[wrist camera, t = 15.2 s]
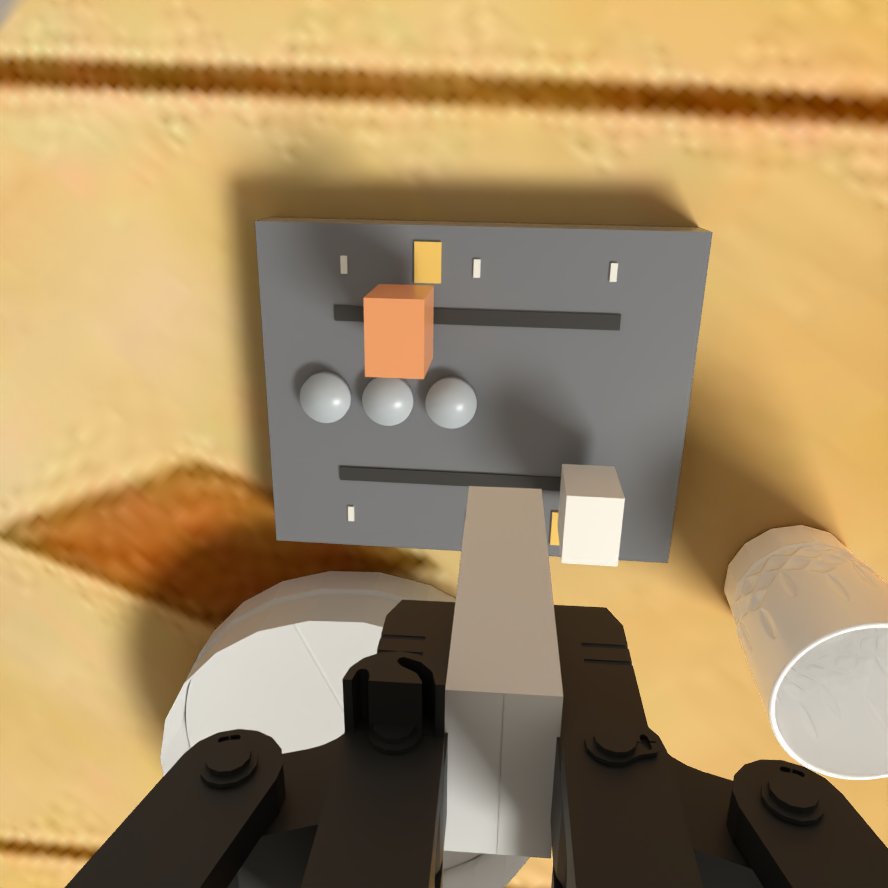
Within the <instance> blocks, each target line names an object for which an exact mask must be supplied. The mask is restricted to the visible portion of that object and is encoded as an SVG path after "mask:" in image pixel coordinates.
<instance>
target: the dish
mask: <svg viewBox="0 0 888 888" xmlns="http://www.w3.org/2000/svg"><path fill="white" fill-rule="evenodd" d="M401 600H422V601H442V602H456V599H455V598H454V597H452V596H450V595H448V594H446V593H444V592H442V591H440V590H438V589H436V588H435V587H433V586H431V585H428V584H424V583H420V582H417V581H413V580H409V579H405V578H401V577H397V576H393V575H389V574H385V573H381V572H353V571H327V572H322V573H318V574H313V575H309V576H304V577H299V578H295V579H290V580H286V581H282V582H280V583H278V584H276V585H274V586H273V587H271V588H269V589H267V590H265V591H263V592H261V593H259V594H257V595H256V596H254V597H252V598H250V599H248V600H246V601H244V602H243V603H242V604H241V605H240V606H239V607H238V608H237V609H236V610H235V611H234V612H233V613H232V614H231V615H230V616H229V617H228V618H227V619H225V620H224V621H223V622H222V623H221V624H220V625H219V626H218V627H217V628H216V629H215V630H214V632H213V633H212V635H211V636H210V638H209V639H208V641H207V642H206V644H205V645H204V647H203V649H202V650H201V651H200V653H199V655H198V657H197V659H196V661H195V663H194V665H193V667H192V669H191V671H190V672H189V674H188V676H187V678H186V680H185V682H184V684H183V686H182V688H181V690H180V692H179V694H178V696H177V698H176V700H175V702H174V704H173V706H172V708H171V710H170V712H169V714H168V716H167V717H166V719H165V726H164V734H163V742H162V749H161V757H160V760H161V765H162V770H163V776H165V774H166V773H167V772H168V771H169V770H170V769H171V768H172V767H173V765H174V764H175V763H176V762H177V761H178V760H179V759H180V758H181V756H182V755H183V754H184V753H185V752H187V751H188V750H189V749H190V748H191V747H193V746H194V745H195V744H196V743H197V742H199V741H200V740H203V739H205V738H207V737H209V736H212V735H214V734H216V733H218V732H224V731H229V730H235V729H245V730H256V731H259V732H261V733H264V734H266V735H268V736H270V737H272V738H273V739H274V740H275V741H276V743H277V744H278V745H279V746H280V748H281V749H282V754H283V753H289V752H294V751H300V750H305V749H310V748H314V747H317V746H321V745H324V744H326V743H328V742H330V741H333V740H335V739H337V738H338V737H340V736H341V735H342V734H344V732H345V727H344V704H343V682H342V679H343V677H344V676H345V674H346V673H347V671H348V670H349V668H350V667H351V666H353V665H354V664H355V663H357V662H358V661H360V660H361V659H363V658H365V657H368V656H371V655H374V654H377V648H378V644H379V640H380V638H381V633H382V629H383V625H384V622H385V618H386V615H387V614H388V613H389V612H390V611H391V610H392V609H393V608H394V607H395V606H396V605H397V604H398V603H399V602H400V601H401ZM529 858H530V857H526V856H512V855H499V854H485V853H471V852H457V851H444V852H443V887H442V888H503V887H505V886H506V885H507V884H508V883H509V882H510V881H511V879H512V878H513V877H514V876H515V875H516V873H517V872H518V871H519V870H520V869H521V867H522V866H523V865H524V864H525V863H526V861H527V860H528V859H529Z"/></svg>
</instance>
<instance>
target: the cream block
mask: <svg viewBox="0 0 888 888" xmlns="http://www.w3.org/2000/svg"><path fill="white" fill-rule="evenodd" d="M624 502H625V498H624V494H623V491H622V488H621V485H620V482H619V479H618V476H617V472H616V469H615V466H596V465H575V464H562V471H561V484H560V497H559V511H558V524H557V528H558V537H559V546H560V555H561V563H569V564H586V565H603V566H618V557H619V548H620V539H621V530H622V520H623V511H624Z"/></svg>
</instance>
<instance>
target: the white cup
mask: <svg viewBox="0 0 888 888" xmlns="http://www.w3.org/2000/svg"><path fill="white" fill-rule="evenodd" d="M724 593H725V595H726V598H727V601H728V603H729V606H730V609H731V611H732V614H733V617H734V621H735V626H736V627H735V629H736V633H737V635H738V638H739V641H740V644H741V648H742V650H743V653H744V655H745V659H746V662H747V665H748V668H749V671H750V673H751V676H752V678H753V680H754V683H755V685H756V688H757V691H758V693H759V696H760V699H761V702H762V704H763V707H764V710H765V712H766V715H767V717H768V720H769V723H770V725H771V728H772V731H773V733H774V735H775V737H776V739H777V741H778V742H779V744H780V745H781V747H782V748H783V749H784V750H785V751H786V752H787V753H788V754H789V755H790V756H791V757H792V758H793V759H794V760H796V761H797V762H799V763H800V764H802V765H803V766H805V767H807V768H809V769H811V770H813V771H815V772H818V773H821V774H824V775H827V776H831V777H835V778H841V779H851V780H868V779H878V778H884V777H888V584H887V583H886V582H885V581H884V580H883V578H882V577H880V576H879V575H878V574H877V573H876V572H875V571H874V570H873V569H872V568H871V567H870V566H869V565H868V564H866V563H865V562H863V561H861V560H859V559H858V558H857V557H856V556H855V555H854V554H853V553H852V552H851V551H850V550H849V549H848V548H847V547H846V546H845V545H843V544H842V543H841V542H840V541H839V540H838V539H837V538H836V537H834V536H833V535H832V534H831V533H830V532H826V531H823V530H819V529H815V528H812V527H808V526H804V525H795V526H788V527H780V528H773V529H770V530H768V531H766V532H764V533H762V534H761V535H759V536H757V537H755V538H754V539H752V540H750V541H748V542H746V543H745V544H744V545H743V547H742V548H741V549H740V550H739V552H738V553H737V554H736V556H735V557H734V558H733V560H732V561H731V562H730V563H729V565H728V569H727V575H726V580H725V586H724Z"/></svg>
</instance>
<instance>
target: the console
mask: <svg viewBox="0 0 888 888" xmlns="http://www.w3.org/2000/svg"><path fill="white" fill-rule="evenodd" d="M255 230H256V244H257V259H258V274H259V289H260V304H261V318H262V333H263V348H264V363H265V378H266V393H267V407H268V422H269V437H270V452H271V467H272V481H273V496H274V511H275V526H276V540H279V541H297V542H314V543H331V544H349V545H366V546H383V547H401V548H418V549H435V550H453V551H462V542H463V534H464V525H465V517H466V508H467V500H468V491H469V486H481V487H506V488H531V489H541V490H542V499H543V509H544V518H545V528H546V537H547V547H548V556H556V557H561V555H560V546H559V537H558V528H557V524H558V511H559V497H560V484H561V471H562V464H575V465H596V466H615V469H616V472H617V476H618V479H619V482H620V485H621V488H622V491H623V494H624V498H625V502H624V511H623V520H622V530H621V539H620V548H619V557H618V560H626V561H643V562H660V563H668V558H669V551H670V543H671V536H672V528H673V521H674V514H675V506H676V499H677V491H678V484H679V476H680V469H681V462H682V454H683V447H684V439H685V432H686V425H687V417H688V410H689V402H690V395H691V387H692V380H693V373H694V365H695V358H696V350H697V343H698V336H699V328H700V321H701V313H702V306H703V298H704V291H705V284H706V276H707V269H708V261H709V254H710V247H711V239H712V232H711V231H708V230H705V229H702V228H700V227H661V226H619V225H578V224H536V223H494V222H452V221H410V220H368V219H327V218H285V217H270V218H266V219H262V220H257V221H255ZM378 284H400V285H432V286H434V316H433V359H432V361H431V364H430V366H429V368H428V371H427V373H426V375H425V378H424V379H405V378H381V377H365V350H364V301H363V298H364V297H365V296H366V295H367V294H368V293H369V292H370V291H372V290H373V289H374V288H375V287H376V286H377V285H378Z"/></svg>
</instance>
